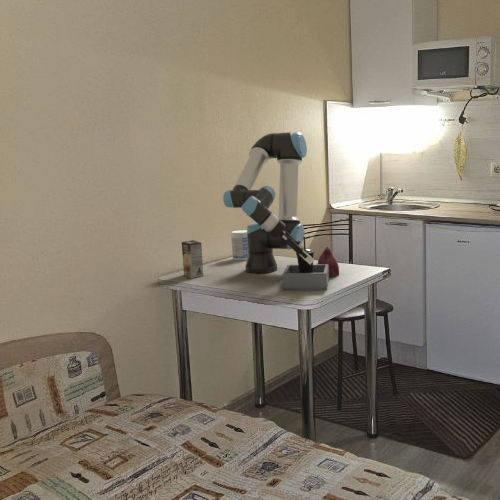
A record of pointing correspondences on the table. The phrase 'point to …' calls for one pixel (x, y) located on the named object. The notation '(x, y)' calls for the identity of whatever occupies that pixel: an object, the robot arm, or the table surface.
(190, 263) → the coffee box
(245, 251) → the supplement tub
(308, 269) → the drinking cup
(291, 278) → the bin
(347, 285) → the table surface
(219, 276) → the table surface
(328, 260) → the vegetable
